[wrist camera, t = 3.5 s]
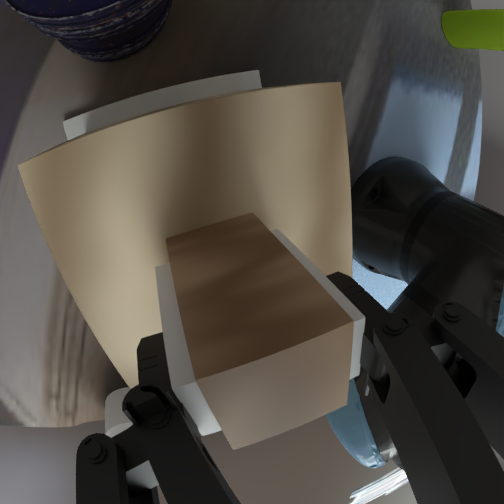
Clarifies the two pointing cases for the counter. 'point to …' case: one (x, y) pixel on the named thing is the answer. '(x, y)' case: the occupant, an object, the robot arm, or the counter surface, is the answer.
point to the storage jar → (97, 24)
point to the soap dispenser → (475, 28)
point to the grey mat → (160, 100)
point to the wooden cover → (214, 245)
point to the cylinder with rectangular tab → (116, 413)
